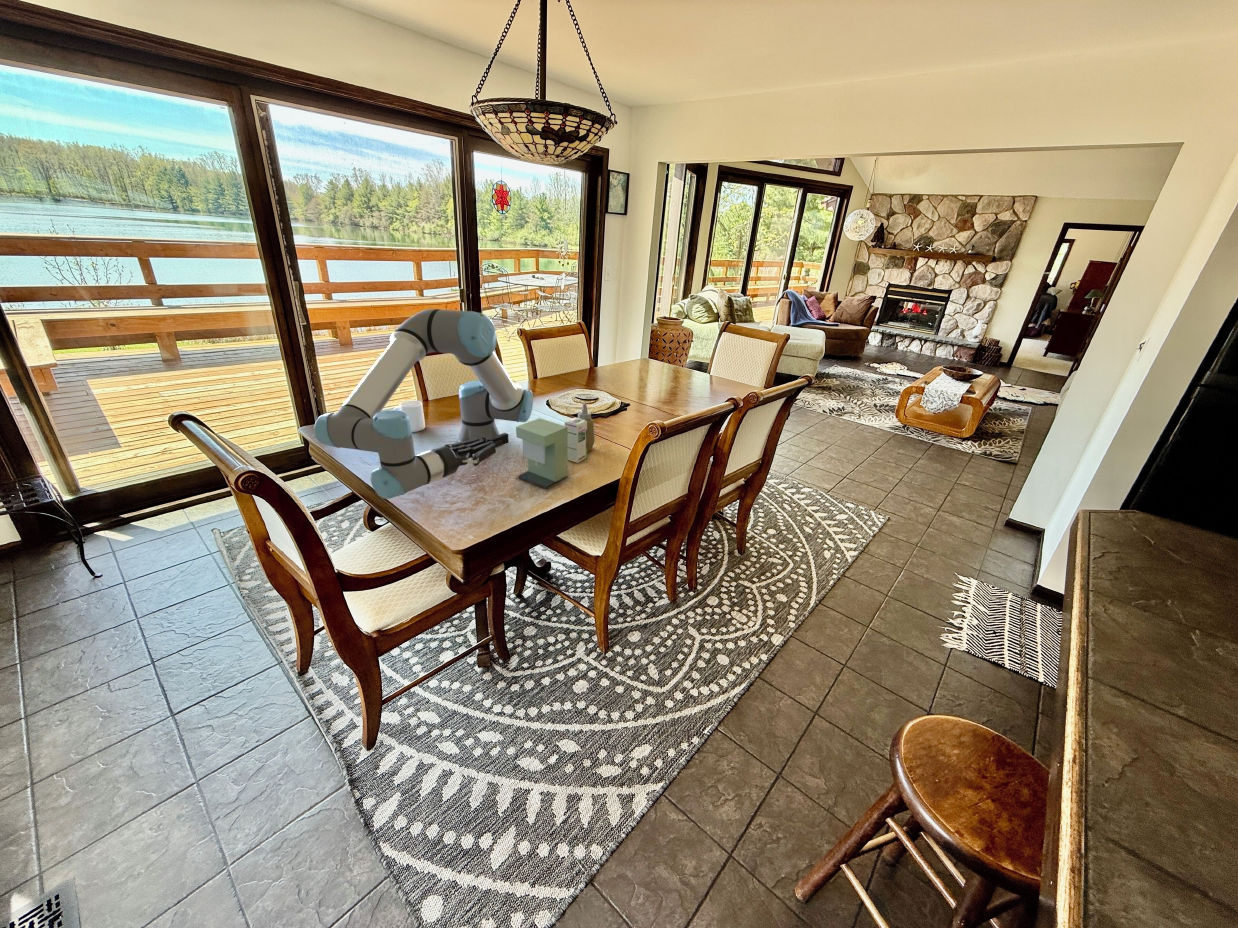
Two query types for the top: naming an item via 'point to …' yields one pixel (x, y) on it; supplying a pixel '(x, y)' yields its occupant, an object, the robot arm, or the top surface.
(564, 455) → the dispenser
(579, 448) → the syrup box
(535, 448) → the push plate
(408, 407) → the mug
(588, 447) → the squeeze bottle
